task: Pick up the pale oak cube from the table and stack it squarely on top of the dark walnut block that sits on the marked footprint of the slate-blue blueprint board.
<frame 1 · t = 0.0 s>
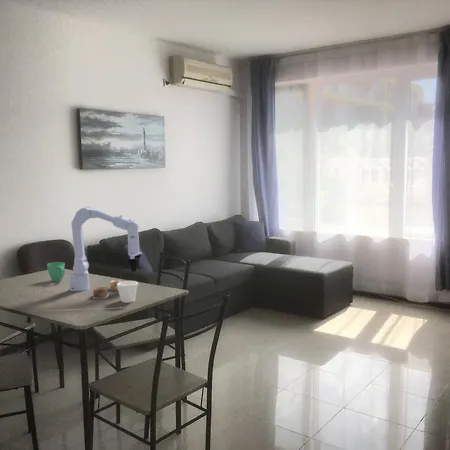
hand: (134, 269, 269), 10 cm above the table, fingers open, 7 cm apart
blueprint board: (108, 295, 257), on the table
walnut block: (101, 296, 254), point 1 cm above the table, touching blueprint board
mug: (58, 281, 292), on the table
oak cube: (116, 290, 268), on the table
cup: (128, 302, 245), on the table
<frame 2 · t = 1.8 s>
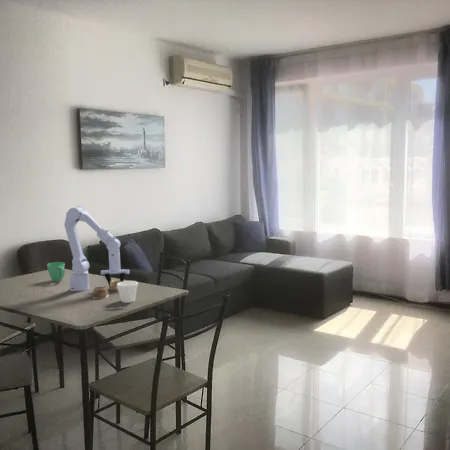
hand: (116, 287, 268), 1 cm above the table, fingers closed on oak cube, 5 cm apart
oak cube: (116, 290, 268), on the table, touching gripper
everything else where it was.
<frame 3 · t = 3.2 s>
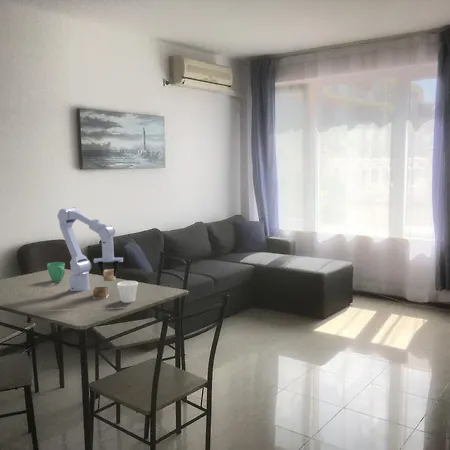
hand: (109, 276, 261), 9 cm above the table, fingers closed on oak cube, 5 cm apart
oak cube: (109, 279, 262), point 7 cm above the table, touching gripper
everything else where it was.
when the fingers open (7 cm above the table, at t = 4.5 s): oak cube stays where it is, resting on walnut block.
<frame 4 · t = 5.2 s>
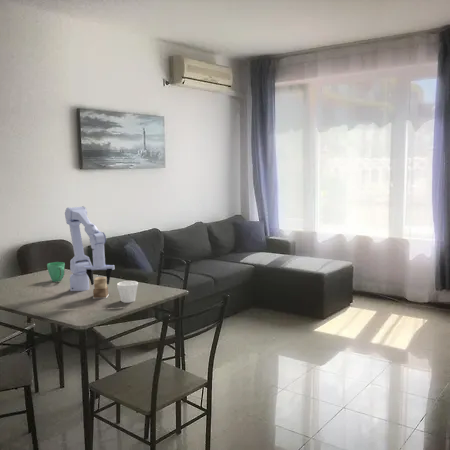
hand: (100, 284, 253), 7 cm above the table, fingers open, 7 cm apart
walnut block: (101, 296, 254), point 1 cm above the table, touching blueprint board, oak cube
oak cube: (100, 288, 254), point 5 cm above the table, touching walnut block
everything else where it was.
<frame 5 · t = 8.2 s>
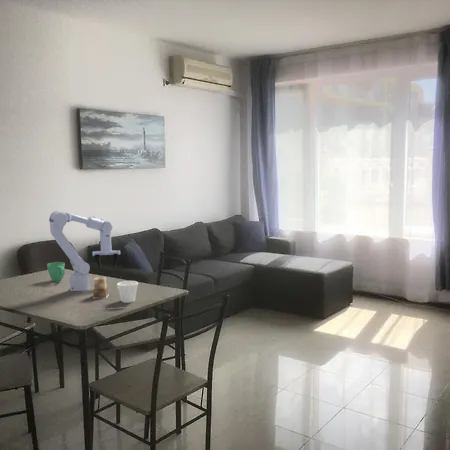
hand: (107, 268, 277), 10 cm above the table, fingers open, 7 cm apart
nothing on the table moved.
at the end: oak cube 0.5 cm off-centre on the walnut block, point 4.0 cm above the walnut block's base; oak cube tilted 0°; walnut block 0.0 cm from the target spot, point 0.7 cm above the table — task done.
